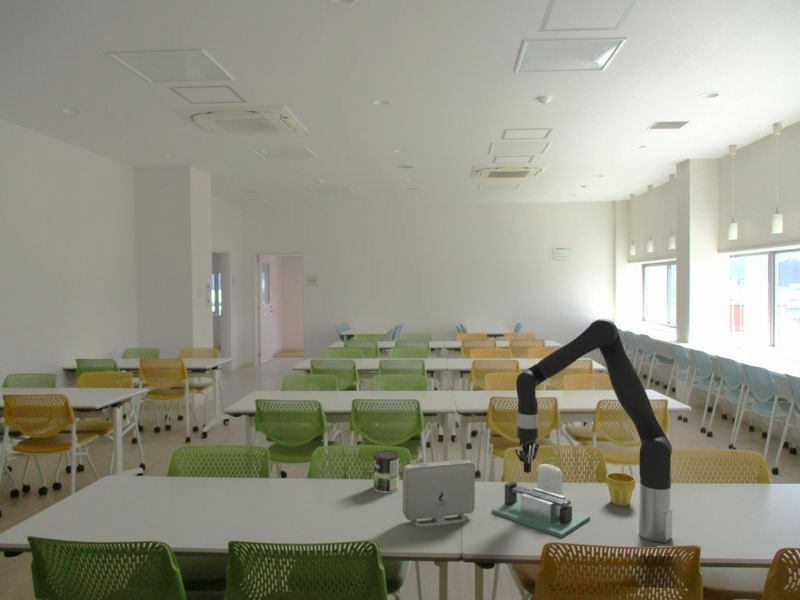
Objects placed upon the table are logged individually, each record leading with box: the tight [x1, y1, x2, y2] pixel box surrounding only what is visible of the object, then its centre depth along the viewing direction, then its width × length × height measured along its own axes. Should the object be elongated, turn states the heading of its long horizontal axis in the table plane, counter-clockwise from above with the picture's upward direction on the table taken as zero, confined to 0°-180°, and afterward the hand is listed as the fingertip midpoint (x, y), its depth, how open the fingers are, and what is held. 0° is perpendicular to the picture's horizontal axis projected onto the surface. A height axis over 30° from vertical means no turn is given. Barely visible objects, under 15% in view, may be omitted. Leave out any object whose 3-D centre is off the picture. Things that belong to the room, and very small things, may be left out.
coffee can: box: [373, 450, 400, 494], centre depth 226 cm, size 10×10×14 cm
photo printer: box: [537, 463, 564, 496], centre depth 218 cm, size 10×4×12 cm, turn 39°
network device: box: [402, 459, 476, 528], centre depth 197 cm, size 26×9×20 cm, turn 105°
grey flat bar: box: [512, 485, 572, 508], centre depth 200 cm, size 21×4×1 cm, turn 45°
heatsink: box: [504, 480, 573, 524], centre depth 201 cm, size 24×10×7 cm, turn 45°
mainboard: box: [491, 494, 591, 538], centre depth 200 cm, size 28×20×1 cm
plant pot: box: [605, 472, 636, 506], centre depth 213 cm, size 10×10×10 cm
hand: (527, 472), depth 204 cm, fingers closed
